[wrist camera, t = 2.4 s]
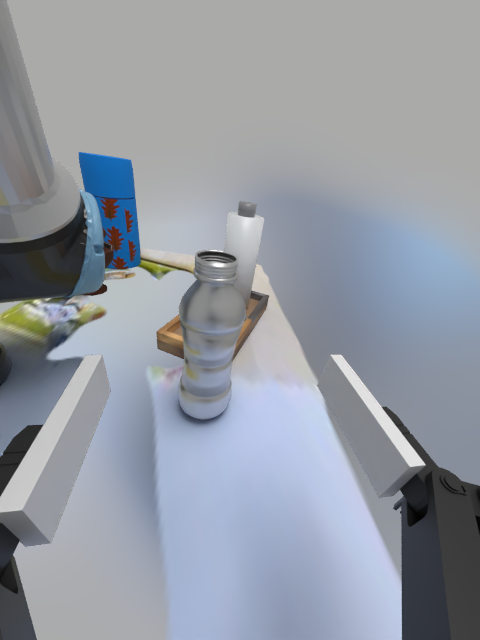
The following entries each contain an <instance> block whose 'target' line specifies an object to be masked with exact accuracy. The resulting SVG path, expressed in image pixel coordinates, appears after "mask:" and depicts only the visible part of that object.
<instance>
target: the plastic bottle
mask: <svg viewBox="0 0 480 640" xmlns="http://www.w3.org/2000/svg"><path fill="white" fill-rule="evenodd" d="M237 266H238V258H237V257H236V256H235V255H233V254H230V253H227V252H223V251H216V250H204V251H199V252H197V253H196V256H195V268H194V277H195V278H196V279H197V280H196V281H195V282H194V284H193V285H192V286H191V287H190V288H189V289H188V290H187V292H186V293H185V294H184V296H183V298H182V300H181V303H180V306H179V318H180V324H181V330H182V336H183V345H184V363H183V371H182V376H181V379H180V383H179V387H178V398H179V402H180V406H181V408H182V409H183V411H184V412H185V413H186V414H188V415H189V416H191V417H194V418H197V419H210V418H213V417H216V416H218V415H219V414H221V413H222V412H223V411H224V410H225V409H226V407H227V405H228V403H229V401H230V398H231V364H232V359H233V354H234V351H235V346H236V342H237V340H238V337H239V334H240V332H241V329H242V326H243V323H244V320H245V317H246V308H245V303H244V300H243V298H242V296H241V295H240V293H239V291H238V289H237V288H236V286H235V285H234V282H235V281H236V280H237V276H238V273H237Z"/></svg>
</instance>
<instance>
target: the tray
mask: <svg viewBox="0 0 480 640" xmlns="http://www.w3.org/2000/svg"><path fill="white" fill-rule="evenodd" d="M268 298H269V296H268V295H265V294H262V293H258V292H255V291H251V295H250V301H249V306H248V309H247V310H246V317H245V320H244V323H243V326H242V329H241V332H240V334H239V337H238V340H237V342H236V346H235V351H234V354H233V359H234V358H235V356H236V354H237V353H238V351H239V350H240V348H241V347H242V345H243V344H244V342H245V341H246V339H247V337H248V336H249V334H250V333H251V331H252V330H253V328H254V327H255V325H256V324H257V322H258V320H259V319H260V317H261V316H262V314H263V313H264V311H265V310H266V307H267V302H268ZM157 345H158V349H160V350H162V351H165V352H167V353H170V354H173V355H175V356H177V357H180V358H182V359H184V345H183V336H182V330H181V324H180V318H179V315H178V316H176V317H175V318H174V319H172V320H171V321H170V322H169V323H167V324H166V325H165V326H164V327H162V328H161V329H160V330H158V331H157ZM233 359H232V361H233Z"/></svg>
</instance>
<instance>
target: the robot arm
mask: <svg viewBox="0 0 480 640" xmlns="http://www.w3.org/2000/svg"><path fill="white" fill-rule="evenodd" d="M103 243H104V238H103V230H102V223H101V217H100V212H99V209H98V205H97V202H96V200H95V198H94V196H93V195H92V194H90V193H88V192H85V191H82V190H81V189H79V188H78V185H77V183H76V181H75V180H74V178H73V176H72V175H71V174H70V173H69V171H68V170H67V169H66V168H65V167H64V166H62V165H61V164H60V163H59V162H58V161H56V160H55V159H53V158H52V157H51V156H50V152H49V149H48V145H47V142H46V138H45V134H44V131H43V127H42V124H41V120H40V117H39V113H38V110H37V106H36V103H35V99H34V96H33V92H32V89H31V85H30V81H29V78H28V75H27V71H26V67H25V64H24V60H23V57H22V53H21V50H20V46H19V43H18V39H17V36H16V32H15V29H14V25H13V22H12V18H11V14H10V11H9V8H8V4H7V0H0V303H5V302H14V301H25V300H35V299H46V298H56V297H64V298H69V297H73V296H74V295H79V294H86V293H92V292H95V291H97V290H98V289H99V288H100V287H101V286H102V284H103V281H104V275H105V254H104V250H103V247H104V245H103ZM10 369H11V360H10V358H9V356H8V354H7V352H6V350H5V348H4V347H3V345H2V344H1V343H0V386H1V384H2V383H3V382H4V381H5V379H6V378H7V376H8V374H9V372H10ZM317 386H318V388H319V389H320V391H321V393H322V395H323V397H324V399H325V400H326V402H327V404H328V406H329V408H330V409H331V411H332V413H333V415H334V417H335V419H336V420H337V422H338V424H339V426H340V428H341V430H342V431H343V433H344V435H345V437H346V438H347V440H348V442H349V444H350V446H351V448H352V450H353V451H354V453H355V455H356V457H357V459H358V460H359V462H360V464H361V466H362V468H363V470H364V471H365V473H366V475H367V477H368V479H369V481H370V482H371V484H372V486H373V488H374V490H375V492H376V493H377V495H378V497H379V498H381V497H388V496H394V495H395V494H396V493H397V492H398V491H399V490H401V492H402V494H403V495H404V496H403V498H401V499H400V500H399V501H398V502H397V503H396V504H395V505H394V508H393V509H395V510H397V509H398V508H399V507H400V506H401V511H400V513H401V515H402V640H480V486H478V485H474V484H470V483H467V482H463V481H461V480H460V479H459V478H458V477H457V476H456V475H454V474H453V473H451V472H450V471H448V470H445V469H443V468H439V467H438V466H437V465H436V464H435V463H434V461H433V460H432V459H431V458H430V456H429V455H428V454H427V453H426V451H425V450H424V449H423V448H422V446H421V445H420V444H419V443H418V442H417V440H416V439H415V438H414V437H413V435H412V434H410V432H409V430H408V429H407V428H406V427H405V426H404V424H403V423H402V422H401V420H400V419H399V418H398V417H397V415H395V414H394V413H393V412H392V411H391V410H390V409H388V408H387V407H381V406H380V405H379V403H378V402H377V401H376V399H375V398H374V397H373V396H372V394H371V393H370V392H369V390H368V389H367V388H366V386H365V385H364V384H363V382H362V381H361V380H360V379H359V377H358V376H357V375H356V373H355V372H354V371H353V369H352V368H351V367H350V365H349V364H348V363H347V362H346V360H345V359H344V358H343V357H342V355H330V357H329V360H328V362H327V364H326V366H325V369H324V371H323V373H322V376H321V378H320V380H319V383H318V385H317ZM110 392H111V390H110V387H109V382H108V378H107V374H106V369H105V365H104V361H103V357H102V355H86V356H85V357H84V359H83V361H82V362H81V364H80V366H79V367H78V369H77V371H76V372H75V374H74V375H73V377H72V379H71V380H70V382H69V384H68V385H67V387H66V389H65V390H64V392H63V394H62V395H61V397H60V399H59V400H58V402H57V404H56V405H55V407H54V409H53V410H52V412H51V414H50V415H49V417H48V419H47V420H46V422H45V424H44V425H29V426H27V427H26V428H24V429H23V430H22V431H21V432H20V433H19V434H18V435H16V436H15V437H14V438H13V439H12V441H11V442H10V444H9V445H8V447H7V448H6V450H5V451H4V454H3V455H2V456H1V457H0V640H37V639H36V635H35V631H34V628H33V624H32V620H31V617H30V613H29V609H28V606H27V602H26V598H25V595H24V591H23V587H22V583H21V580H20V576H19V572H18V569H17V565H16V561H15V558H14V556H13V553H14V551H15V549H16V547H17V545H18V543H19V541H20V542H21V543H22V544H23V545H24V546H34V545H41V544H48V543H51V541H52V539H53V537H54V534H55V532H56V529H57V527H58V524H59V521H60V519H61V516H62V514H63V511H64V509H65V506H66V504H67V501H68V498H69V496H70V493H71V491H72V488H73V486H74V483H75V481H76V478H77V476H78V473H79V470H80V468H81V466H82V463H83V460H84V458H85V455H86V453H87V450H88V447H89V445H90V443H91V440H92V438H93V435H94V432H95V430H96V427H97V425H98V422H99V419H100V417H101V415H102V412H103V409H104V407H105V404H106V402H107V399H108V397H109V394H110Z"/></svg>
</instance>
